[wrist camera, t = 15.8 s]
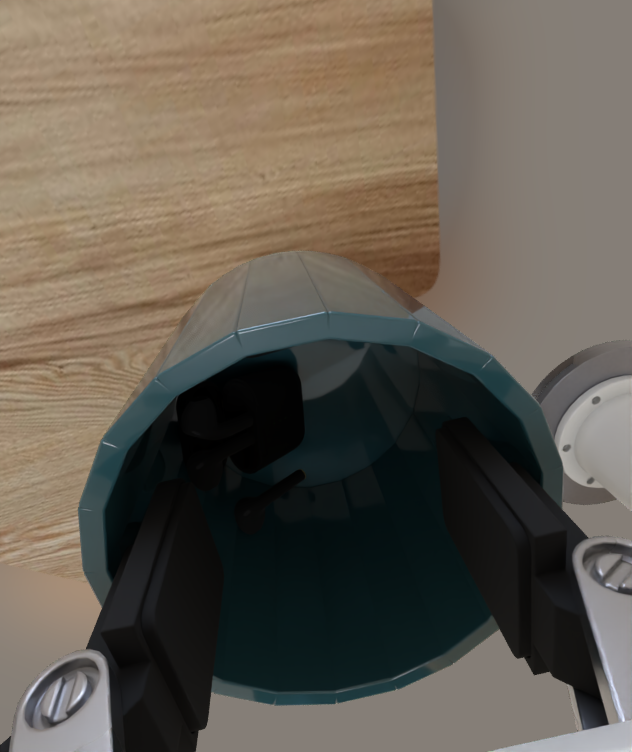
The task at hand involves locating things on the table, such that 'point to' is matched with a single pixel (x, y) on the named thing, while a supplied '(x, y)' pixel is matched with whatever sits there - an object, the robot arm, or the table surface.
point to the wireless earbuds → (243, 432)
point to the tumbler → (323, 479)
